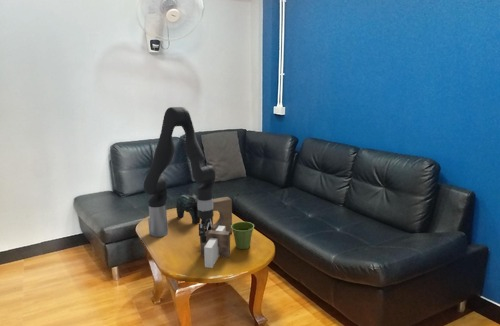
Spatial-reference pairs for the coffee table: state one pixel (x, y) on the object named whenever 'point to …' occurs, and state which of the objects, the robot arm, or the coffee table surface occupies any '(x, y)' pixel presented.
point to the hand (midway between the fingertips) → (206, 238)
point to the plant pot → (242, 234)
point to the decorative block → (223, 213)
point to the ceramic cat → (188, 206)
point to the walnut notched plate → (222, 242)
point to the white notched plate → (212, 249)
